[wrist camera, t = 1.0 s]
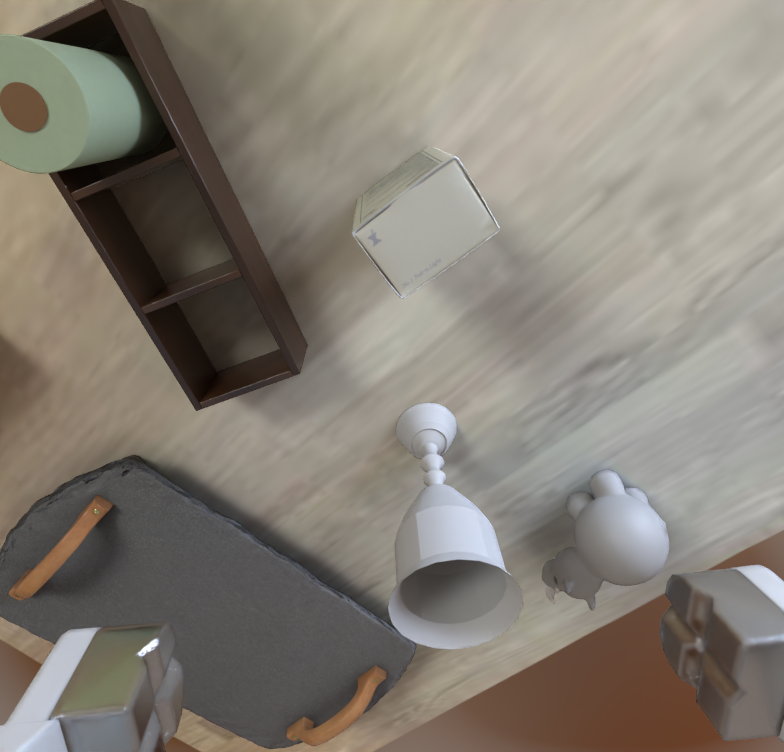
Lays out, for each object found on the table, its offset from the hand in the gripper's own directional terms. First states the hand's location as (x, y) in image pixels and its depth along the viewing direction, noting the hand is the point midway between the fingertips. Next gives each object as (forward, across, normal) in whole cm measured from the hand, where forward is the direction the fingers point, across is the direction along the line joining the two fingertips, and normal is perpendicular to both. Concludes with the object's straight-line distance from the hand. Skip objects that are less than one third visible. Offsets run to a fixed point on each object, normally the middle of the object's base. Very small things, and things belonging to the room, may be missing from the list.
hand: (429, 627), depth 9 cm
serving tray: (+38, +15, +31) cm, 52 cm away
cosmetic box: (+32, -4, -6) cm, 33 cm away
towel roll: (+32, +14, -12) cm, 37 cm away
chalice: (+34, -5, +12) cm, 37 cm away
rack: (+33, +12, -5) cm, 35 cm away
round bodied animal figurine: (+35, -19, +22) cm, 46 cm away
